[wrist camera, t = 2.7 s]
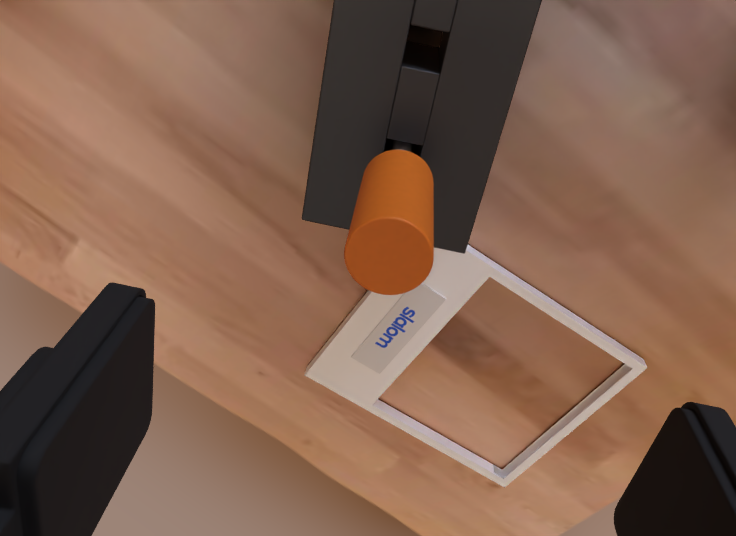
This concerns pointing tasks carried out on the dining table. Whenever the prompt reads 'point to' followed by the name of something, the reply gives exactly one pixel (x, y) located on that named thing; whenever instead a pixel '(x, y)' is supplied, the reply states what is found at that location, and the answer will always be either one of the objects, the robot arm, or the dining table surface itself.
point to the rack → (416, 101)
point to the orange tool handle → (392, 223)
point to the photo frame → (420, 325)
